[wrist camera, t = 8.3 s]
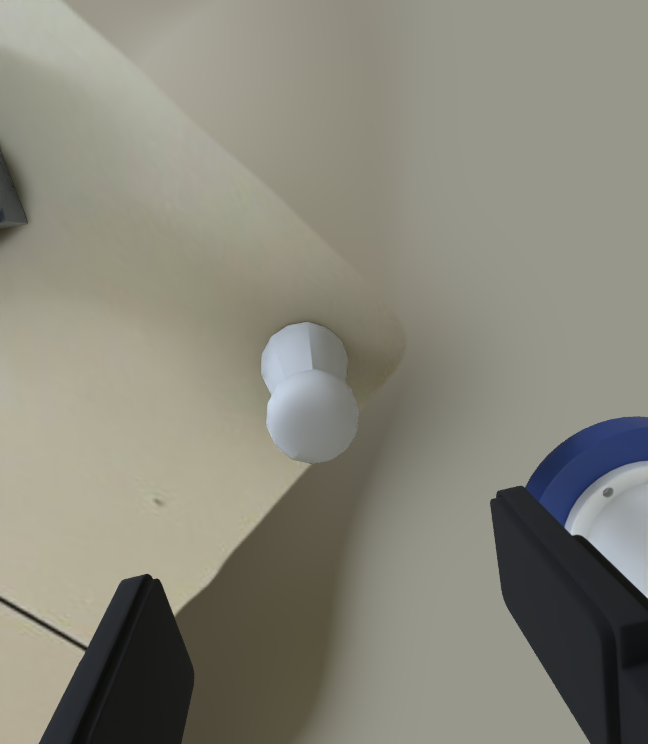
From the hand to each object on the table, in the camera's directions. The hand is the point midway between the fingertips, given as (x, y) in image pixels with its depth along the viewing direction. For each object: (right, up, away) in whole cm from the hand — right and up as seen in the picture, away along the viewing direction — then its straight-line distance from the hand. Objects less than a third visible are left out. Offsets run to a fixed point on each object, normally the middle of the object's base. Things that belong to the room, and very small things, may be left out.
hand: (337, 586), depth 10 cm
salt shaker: (-2, +6, +22) cm, 23 cm away
